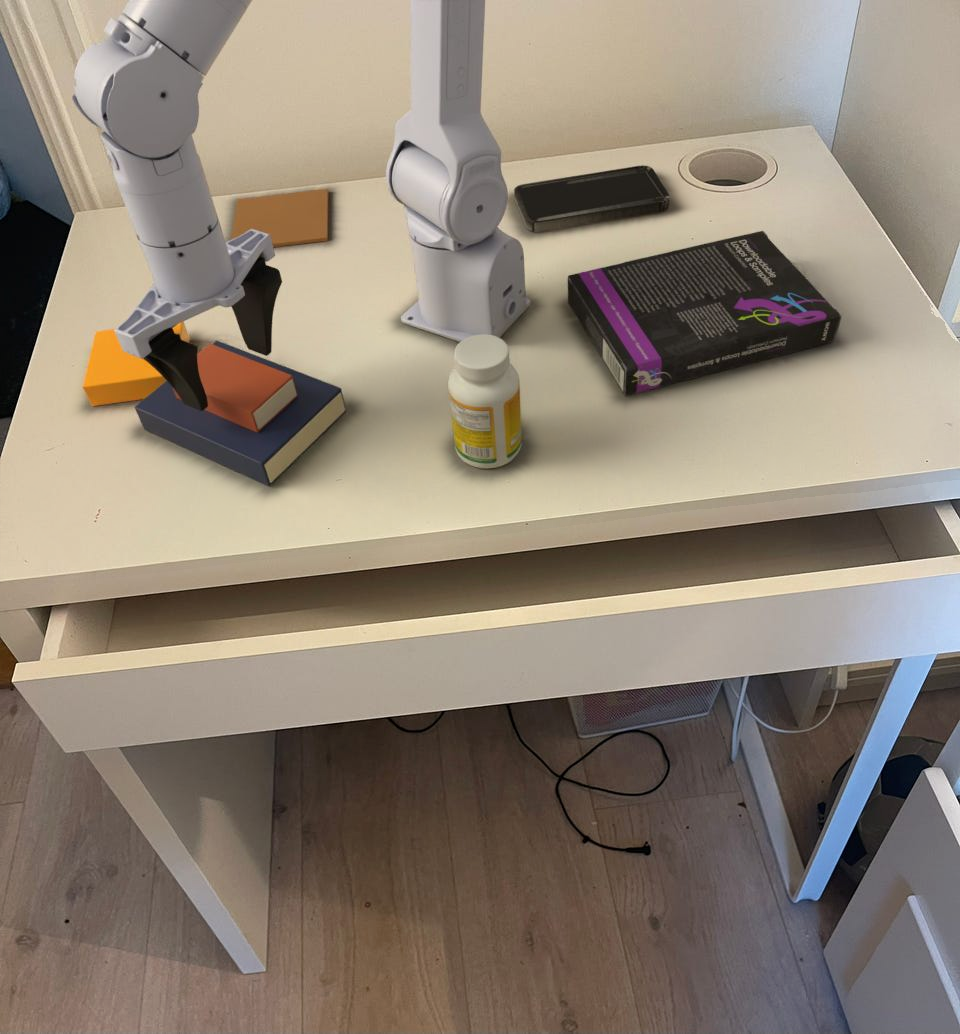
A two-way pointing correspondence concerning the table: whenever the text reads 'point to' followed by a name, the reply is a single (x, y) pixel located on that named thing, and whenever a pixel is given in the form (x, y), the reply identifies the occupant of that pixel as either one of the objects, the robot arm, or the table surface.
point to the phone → (590, 198)
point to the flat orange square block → (120, 371)
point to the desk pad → (285, 217)
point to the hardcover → (242, 446)
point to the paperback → (243, 388)
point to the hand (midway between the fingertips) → (228, 377)
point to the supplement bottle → (485, 402)
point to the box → (699, 311)
